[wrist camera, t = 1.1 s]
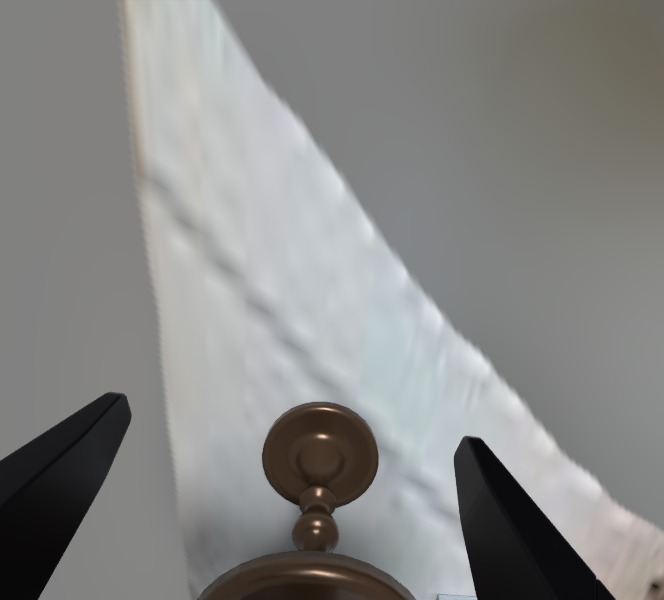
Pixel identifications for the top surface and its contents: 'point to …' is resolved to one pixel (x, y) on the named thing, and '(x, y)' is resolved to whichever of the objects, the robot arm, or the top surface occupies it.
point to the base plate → (455, 597)
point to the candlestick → (314, 511)
